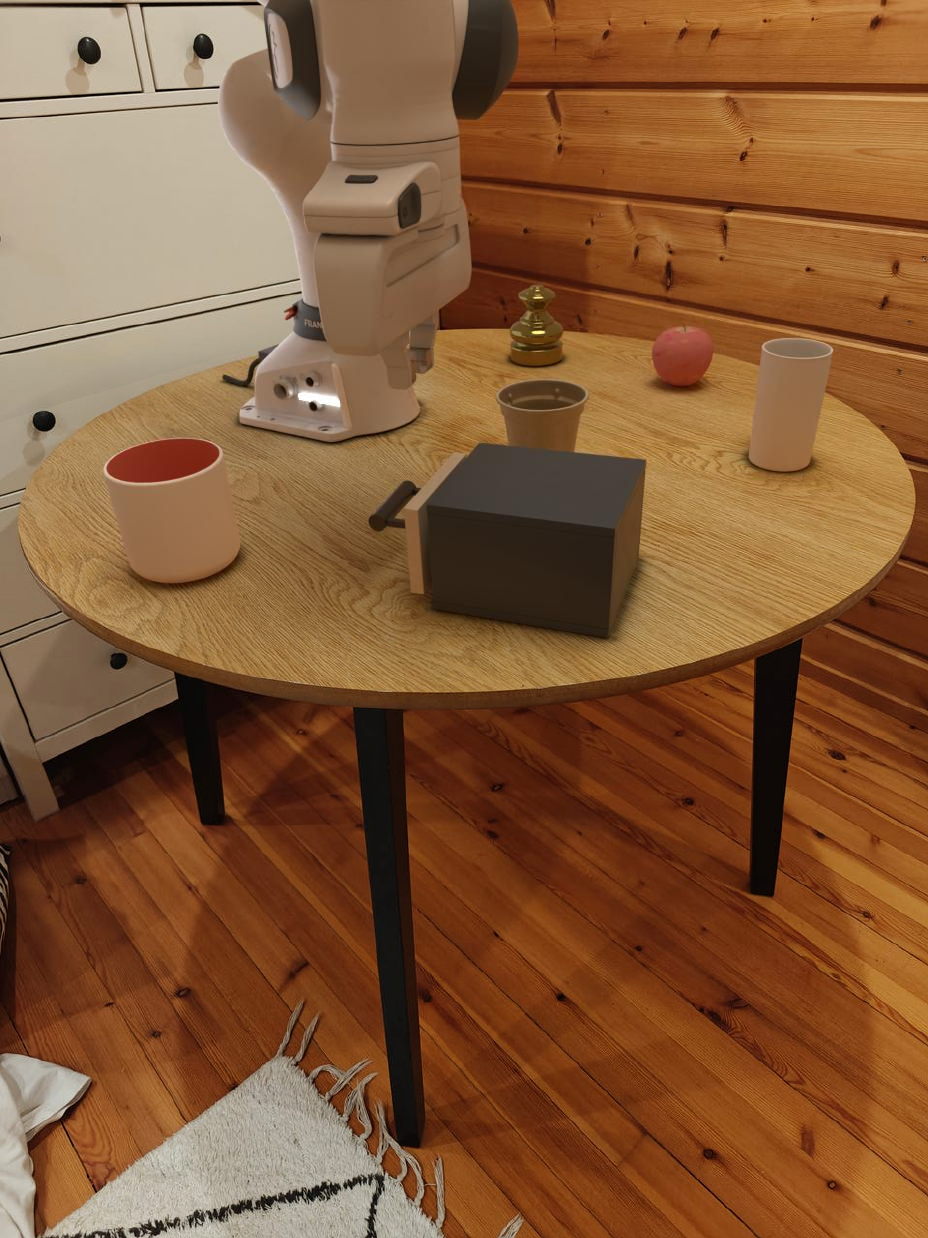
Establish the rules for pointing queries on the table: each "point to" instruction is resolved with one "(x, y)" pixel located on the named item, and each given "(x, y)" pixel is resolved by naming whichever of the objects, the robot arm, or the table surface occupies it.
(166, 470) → the cup
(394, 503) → the drawer
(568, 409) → the flower pot
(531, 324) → the gold chess piece
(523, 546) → the cabinet
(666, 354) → the apple
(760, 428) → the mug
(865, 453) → the table surface
